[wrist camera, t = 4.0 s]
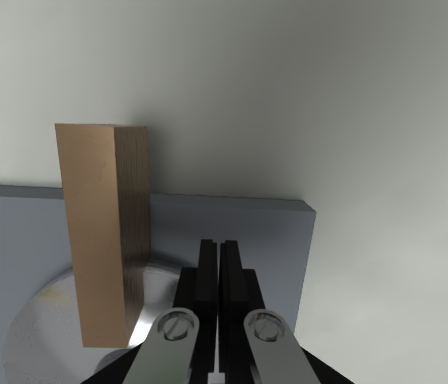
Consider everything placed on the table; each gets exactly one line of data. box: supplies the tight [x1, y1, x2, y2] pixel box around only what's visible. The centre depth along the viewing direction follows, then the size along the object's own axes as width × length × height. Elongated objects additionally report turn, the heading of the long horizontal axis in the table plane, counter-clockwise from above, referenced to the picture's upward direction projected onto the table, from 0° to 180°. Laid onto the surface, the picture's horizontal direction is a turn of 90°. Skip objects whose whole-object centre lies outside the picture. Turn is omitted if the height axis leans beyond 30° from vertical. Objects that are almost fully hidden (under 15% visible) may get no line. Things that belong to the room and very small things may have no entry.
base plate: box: [0, 185, 316, 384], centre depth 14 cm, size 20×20×6 cm
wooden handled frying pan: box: [3, 124, 225, 384], centre depth 12 cm, size 21×14×4 cm, turn 176°
